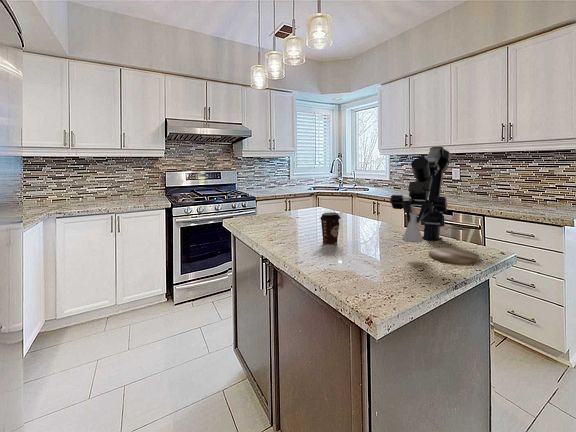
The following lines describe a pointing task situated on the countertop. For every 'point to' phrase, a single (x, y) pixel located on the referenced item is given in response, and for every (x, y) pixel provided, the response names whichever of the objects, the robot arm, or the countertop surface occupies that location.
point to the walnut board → (454, 255)
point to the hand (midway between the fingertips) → (412, 221)
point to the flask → (412, 230)
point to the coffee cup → (330, 227)
